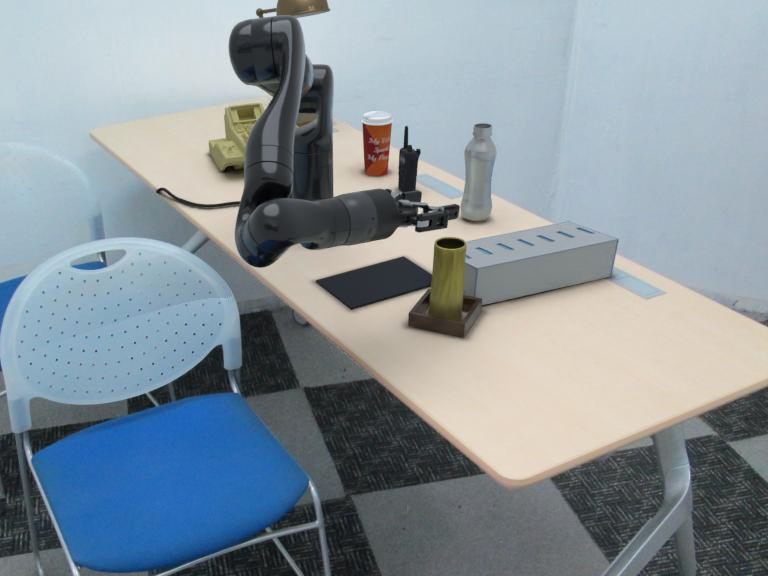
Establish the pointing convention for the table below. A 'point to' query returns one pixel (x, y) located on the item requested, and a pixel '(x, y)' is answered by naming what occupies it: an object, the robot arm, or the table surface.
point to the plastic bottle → (478, 174)
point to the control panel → (235, 135)
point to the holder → (444, 324)
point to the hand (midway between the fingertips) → (438, 203)
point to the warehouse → (536, 261)
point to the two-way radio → (407, 166)
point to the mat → (376, 282)
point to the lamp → (298, 4)
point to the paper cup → (376, 142)
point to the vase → (448, 278)
